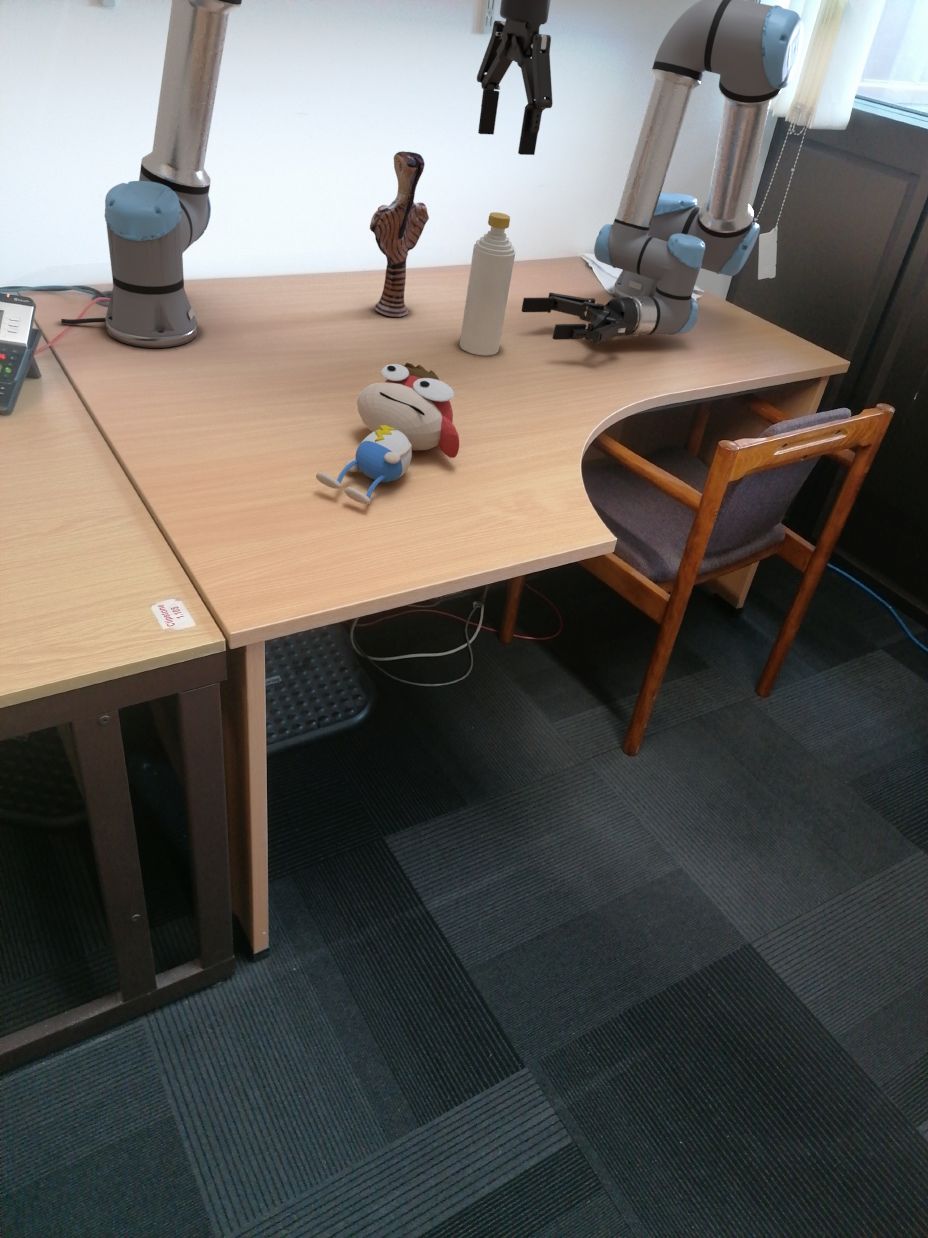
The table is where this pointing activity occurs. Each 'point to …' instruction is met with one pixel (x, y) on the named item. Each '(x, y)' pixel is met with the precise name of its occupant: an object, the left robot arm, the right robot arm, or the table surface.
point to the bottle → (487, 293)
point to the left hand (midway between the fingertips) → (505, 143)
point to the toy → (399, 425)
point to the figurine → (399, 231)
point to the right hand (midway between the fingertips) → (538, 318)
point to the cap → (499, 220)
